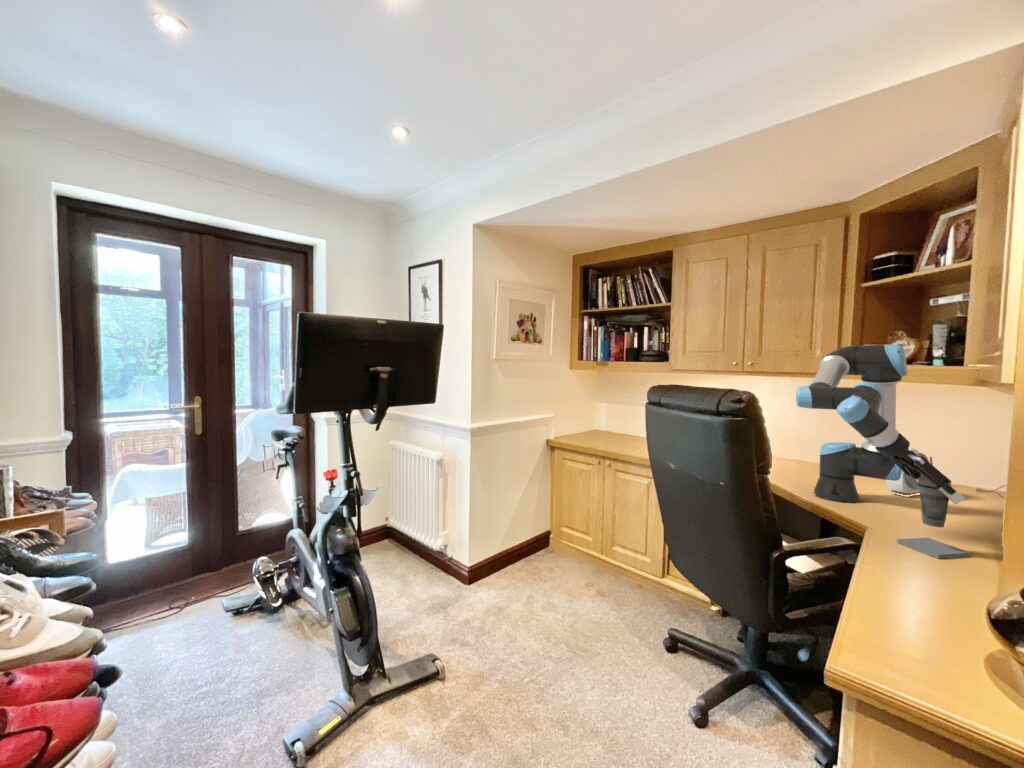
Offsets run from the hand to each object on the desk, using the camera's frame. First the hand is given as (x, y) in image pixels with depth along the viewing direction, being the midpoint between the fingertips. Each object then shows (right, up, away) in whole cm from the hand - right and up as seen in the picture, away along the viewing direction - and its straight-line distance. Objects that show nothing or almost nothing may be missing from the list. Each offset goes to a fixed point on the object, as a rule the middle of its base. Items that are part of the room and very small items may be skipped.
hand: (948, 497), depth 123 cm
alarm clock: (+43, -15, +58) cm, 74 cm away
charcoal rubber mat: (-3, -16, +1) cm, 16 cm away
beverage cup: (-4, -9, +1) cm, 9 cm away
